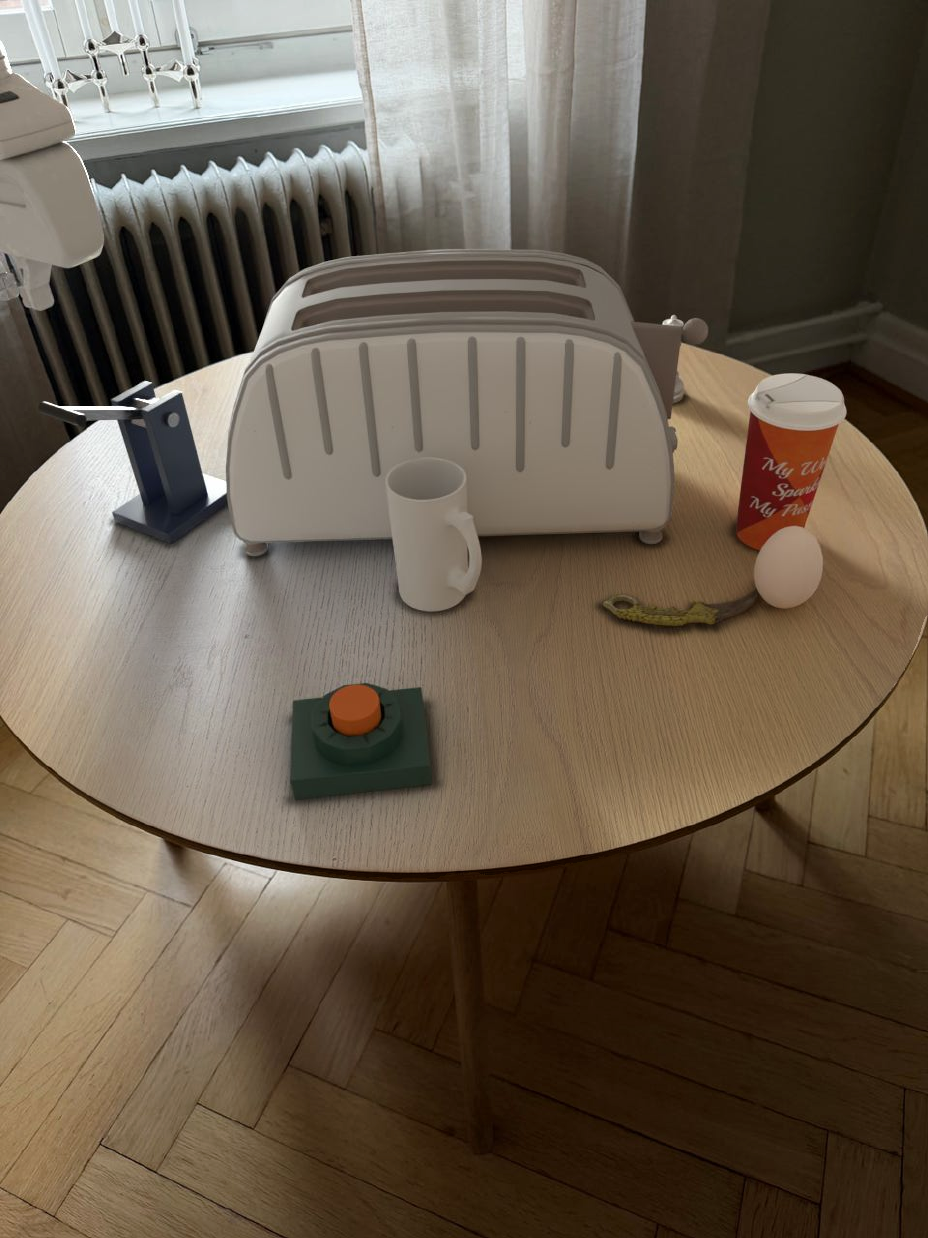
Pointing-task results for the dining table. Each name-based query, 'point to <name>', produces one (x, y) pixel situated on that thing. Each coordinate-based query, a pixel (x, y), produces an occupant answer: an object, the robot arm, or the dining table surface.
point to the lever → (97, 412)
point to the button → (355, 710)
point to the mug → (432, 533)
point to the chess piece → (679, 383)
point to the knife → (677, 617)
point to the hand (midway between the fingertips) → (23, 302)
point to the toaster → (455, 398)
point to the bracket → (165, 469)
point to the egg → (788, 567)
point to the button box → (359, 747)
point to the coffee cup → (785, 452)
